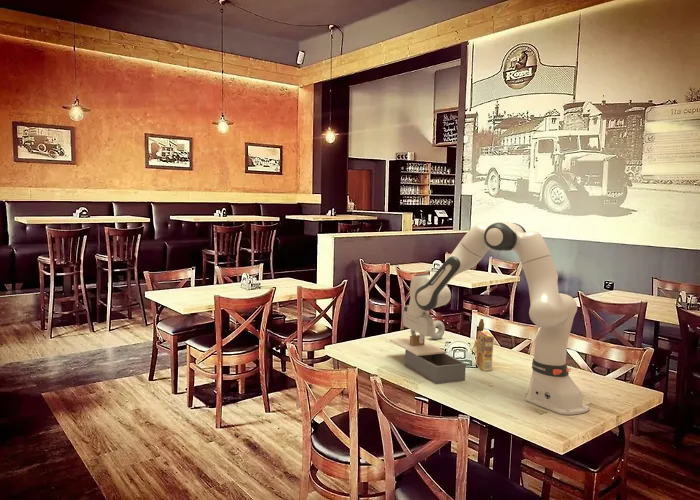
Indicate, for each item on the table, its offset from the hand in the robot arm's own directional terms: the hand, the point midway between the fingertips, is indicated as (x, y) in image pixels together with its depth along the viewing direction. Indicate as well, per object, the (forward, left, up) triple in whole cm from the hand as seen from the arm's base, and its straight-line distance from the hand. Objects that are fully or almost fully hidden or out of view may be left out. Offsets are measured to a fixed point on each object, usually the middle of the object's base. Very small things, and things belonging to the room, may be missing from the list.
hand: (417, 341), depth 237 cm
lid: (0, 0, -2) cm, 3 cm away
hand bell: (+6, -39, -10) cm, 41 cm away
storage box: (-14, 0, -10) cm, 17 cm away
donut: (+31, -31, -10) cm, 45 cm away
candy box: (-15, -25, -10) cm, 31 cm away
